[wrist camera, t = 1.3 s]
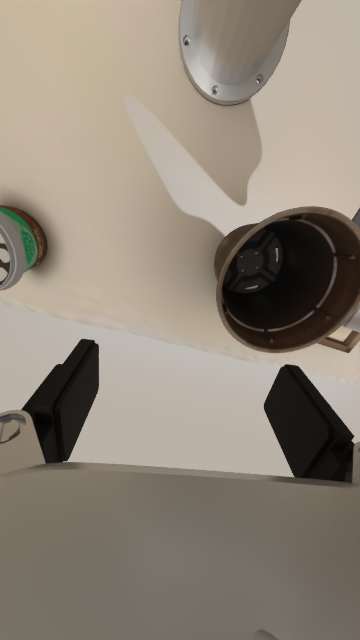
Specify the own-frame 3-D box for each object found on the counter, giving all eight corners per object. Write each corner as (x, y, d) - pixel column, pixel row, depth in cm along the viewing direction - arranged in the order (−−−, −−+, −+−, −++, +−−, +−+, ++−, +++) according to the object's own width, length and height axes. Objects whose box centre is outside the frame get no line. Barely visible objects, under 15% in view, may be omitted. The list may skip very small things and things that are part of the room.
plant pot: (187, 233, 36) (195, 249, 21) (286, 189, 33) (370, 173, 19) (218, 315, 43) (239, 369, 28) (301, 284, 40) (372, 326, 26)
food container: (65, 271, 38) (32, 290, 29) (32, 275, 38) (-12, 295, 29) (36, 190, 33) (-17, 183, 24) (-4, 196, 33) (-70, 191, 24)
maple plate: (336, 267, 38) (363, 277, 32) (381, 285, 40) (414, 297, 34) (297, 324, 43) (315, 341, 38) (339, 338, 45) (362, 356, 39)
